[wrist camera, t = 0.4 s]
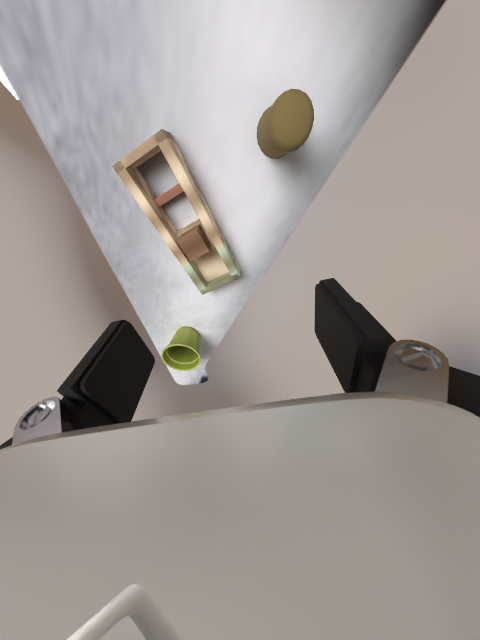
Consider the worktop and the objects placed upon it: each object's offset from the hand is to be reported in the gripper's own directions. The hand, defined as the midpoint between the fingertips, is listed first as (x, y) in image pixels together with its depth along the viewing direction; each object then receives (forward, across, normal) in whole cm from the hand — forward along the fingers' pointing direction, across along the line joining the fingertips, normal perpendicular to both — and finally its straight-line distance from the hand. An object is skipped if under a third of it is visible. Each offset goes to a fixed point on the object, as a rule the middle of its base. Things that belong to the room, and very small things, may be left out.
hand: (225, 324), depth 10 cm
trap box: (+34, +8, 0) cm, 34 cm away
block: (+32, +7, +3) cm, 33 cm away
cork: (+34, -9, -9) cm, 36 cm away
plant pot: (+34, +19, +27) cm, 47 cm away
